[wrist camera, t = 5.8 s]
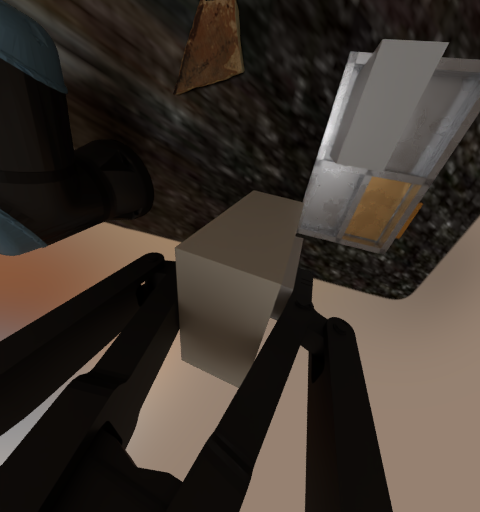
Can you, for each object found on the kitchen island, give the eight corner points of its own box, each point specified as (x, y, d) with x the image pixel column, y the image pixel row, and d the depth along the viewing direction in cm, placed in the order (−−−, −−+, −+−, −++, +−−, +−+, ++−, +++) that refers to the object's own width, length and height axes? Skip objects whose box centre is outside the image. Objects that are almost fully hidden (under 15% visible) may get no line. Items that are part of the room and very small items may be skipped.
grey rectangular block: (329, 155, 26) (336, 163, 18) (356, 76, 21) (382, 39, 13) (360, 160, 25) (382, 172, 17) (396, 79, 21) (449, 42, 12)
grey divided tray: (294, 224, 33) (293, 231, 31) (346, 61, 22) (350, 51, 19) (382, 246, 30) (388, 255, 28) (494, 72, 19) (521, 62, 16)
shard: (179, 96, 29) (171, 94, 28) (162, 24, 25) (153, 17, 24) (246, 77, 25) (242, 73, 24) (238, -12, 22) (233, -22, 20)
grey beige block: (239, 269, 19) (181, 359, 11) (253, 190, 15) (174, 247, 7) (277, 282, 19) (243, 390, 11) (304, 202, 14) (281, 284, 6)
